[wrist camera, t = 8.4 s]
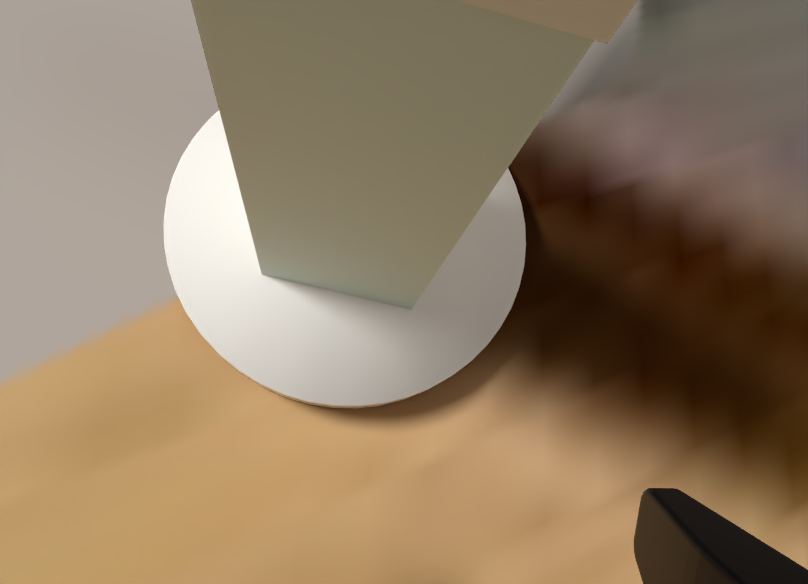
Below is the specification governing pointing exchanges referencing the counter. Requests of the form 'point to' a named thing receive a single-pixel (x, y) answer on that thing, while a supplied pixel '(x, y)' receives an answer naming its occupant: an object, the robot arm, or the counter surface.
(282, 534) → the counter surface
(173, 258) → the plinth
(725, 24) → the counter surface
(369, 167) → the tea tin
